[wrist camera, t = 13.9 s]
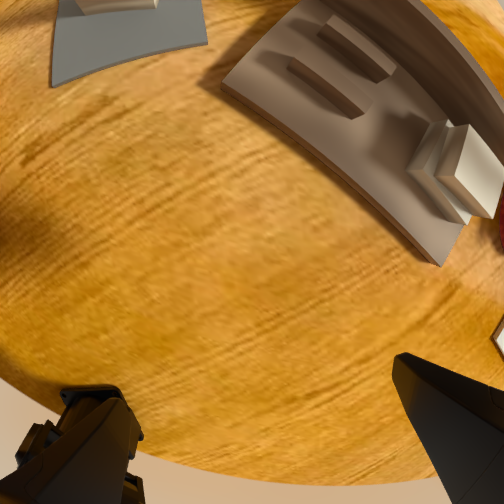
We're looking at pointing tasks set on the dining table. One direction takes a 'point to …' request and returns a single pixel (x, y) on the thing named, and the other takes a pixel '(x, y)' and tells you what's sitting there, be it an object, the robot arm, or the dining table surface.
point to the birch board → (114, 5)
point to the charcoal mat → (121, 36)
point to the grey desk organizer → (371, 99)
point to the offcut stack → (457, 172)
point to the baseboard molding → (500, 337)
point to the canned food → (502, 221)
